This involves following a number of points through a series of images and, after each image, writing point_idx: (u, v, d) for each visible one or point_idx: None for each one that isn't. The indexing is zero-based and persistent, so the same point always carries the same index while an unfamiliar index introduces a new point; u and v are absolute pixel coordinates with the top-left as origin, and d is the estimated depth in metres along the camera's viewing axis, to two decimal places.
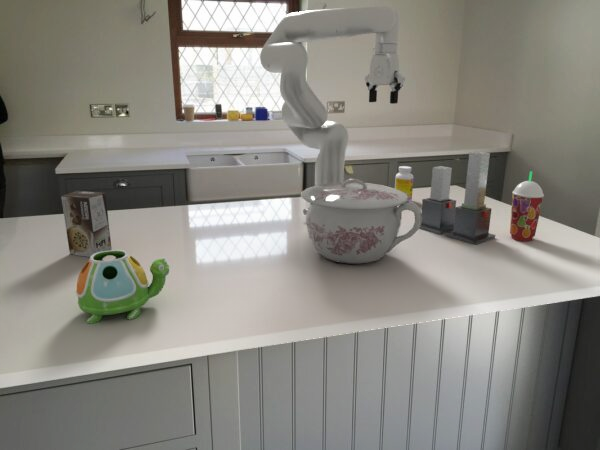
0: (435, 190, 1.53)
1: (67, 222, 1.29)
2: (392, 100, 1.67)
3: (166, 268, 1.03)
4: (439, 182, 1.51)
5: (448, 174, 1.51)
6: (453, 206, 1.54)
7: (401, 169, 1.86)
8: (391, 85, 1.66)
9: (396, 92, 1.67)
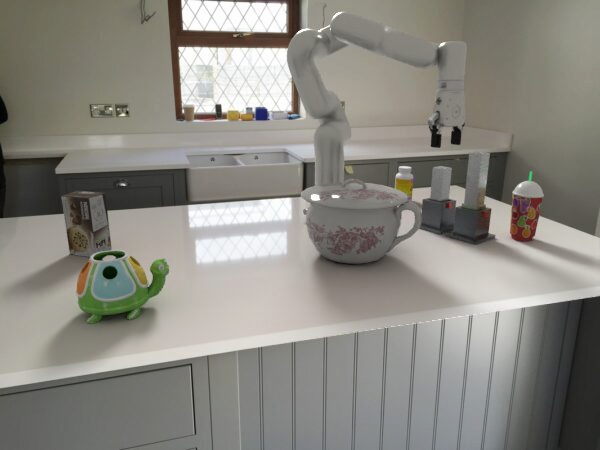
0: (435, 190, 1.53)
1: (67, 222, 1.29)
2: None
3: (166, 268, 1.03)
4: (439, 182, 1.51)
5: (448, 174, 1.51)
6: (453, 206, 1.54)
7: (401, 169, 1.86)
8: (460, 125, 1.50)
9: None
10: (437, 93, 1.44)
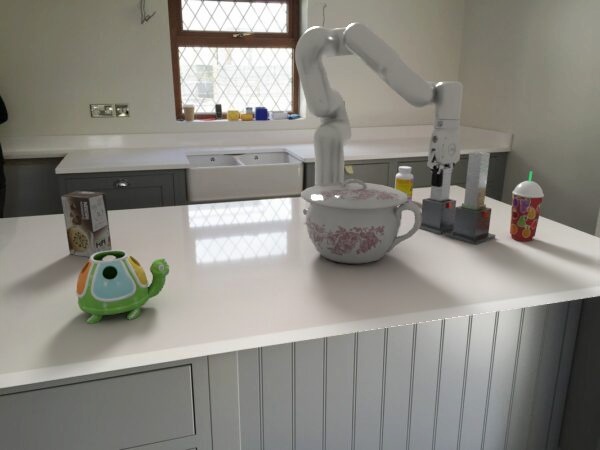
0: (435, 190, 1.53)
1: (67, 222, 1.29)
2: None
3: (166, 268, 1.03)
4: None
5: (448, 174, 1.51)
6: (453, 206, 1.54)
7: (401, 169, 1.86)
8: (451, 165, 1.52)
9: None
10: (433, 131, 1.47)
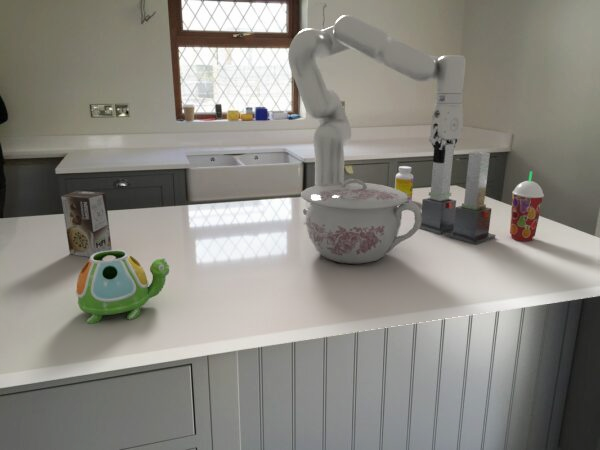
0: (437, 167, 1.51)
1: (67, 222, 1.29)
2: None
3: (166, 268, 1.03)
4: None
5: (450, 150, 1.49)
6: (453, 206, 1.54)
7: (401, 169, 1.86)
8: (454, 141, 1.50)
9: None
10: (435, 106, 1.45)
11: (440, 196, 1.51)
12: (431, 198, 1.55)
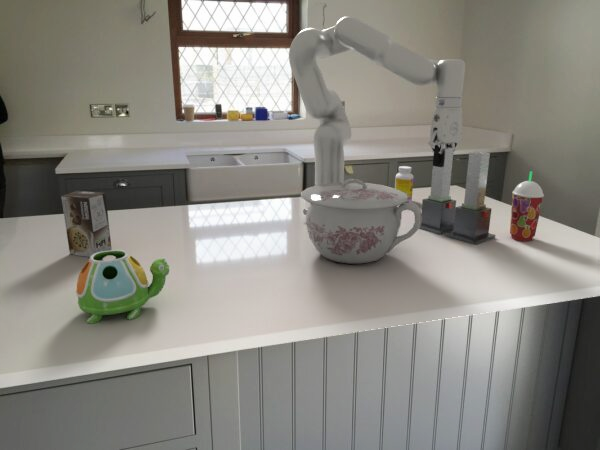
0: (436, 171, 1.51)
1: (67, 222, 1.29)
2: None
3: (166, 268, 1.03)
4: None
5: (450, 154, 1.50)
6: (453, 206, 1.54)
7: (401, 169, 1.86)
8: (453, 145, 1.51)
9: None
10: (435, 110, 1.45)
11: (440, 200, 1.52)
12: None
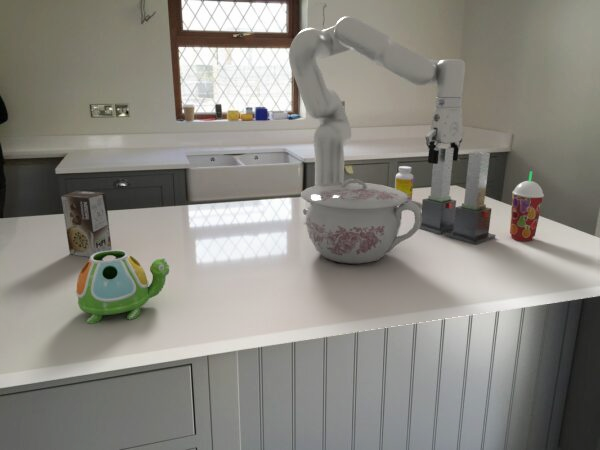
0: (436, 171, 1.51)
1: (67, 222, 1.29)
2: None
3: (166, 268, 1.03)
4: (441, 162, 1.50)
5: (450, 154, 1.50)
6: (453, 206, 1.54)
7: (401, 169, 1.86)
8: (457, 141, 1.52)
9: None
10: (435, 110, 1.45)
11: (440, 200, 1.52)
12: None
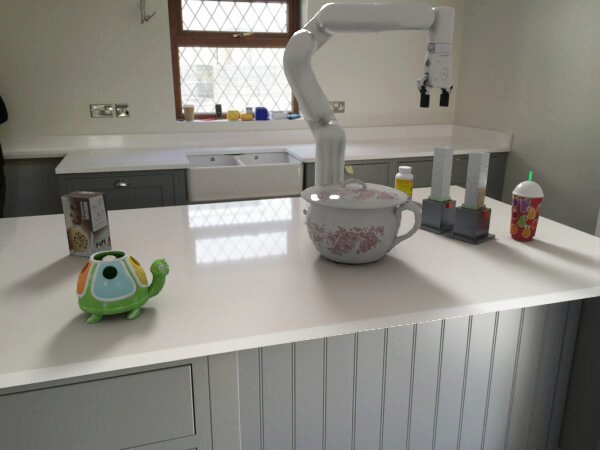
0: (436, 171, 1.51)
1: (67, 222, 1.29)
2: None
3: (166, 268, 1.03)
4: (441, 162, 1.50)
5: (450, 154, 1.50)
6: (453, 206, 1.54)
7: (401, 169, 1.86)
8: (448, 88, 1.60)
9: None
10: (426, 56, 1.53)
11: (440, 200, 1.52)
12: None
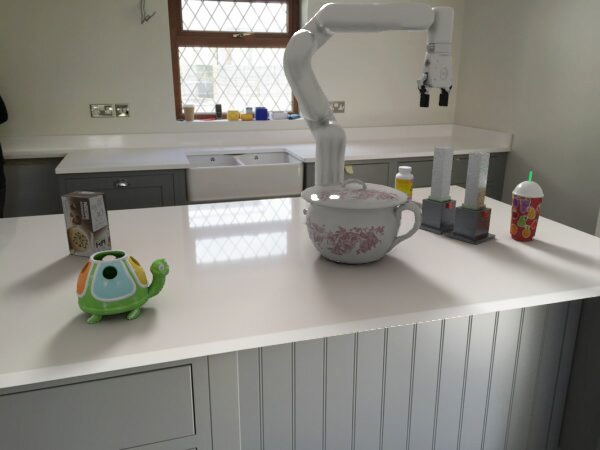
0: (436, 171, 1.51)
1: (67, 222, 1.29)
2: None
3: (166, 268, 1.03)
4: (441, 162, 1.50)
5: (450, 154, 1.50)
6: (453, 206, 1.54)
7: (401, 169, 1.86)
8: (447, 87, 1.60)
9: None
10: (426, 55, 1.54)
11: (440, 200, 1.52)
12: None
